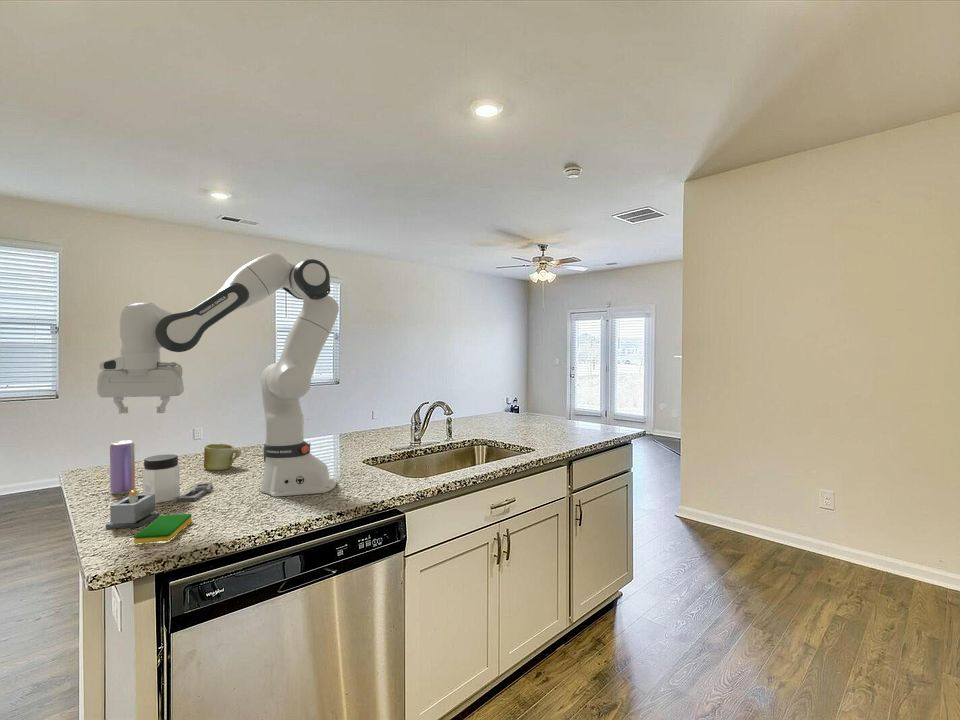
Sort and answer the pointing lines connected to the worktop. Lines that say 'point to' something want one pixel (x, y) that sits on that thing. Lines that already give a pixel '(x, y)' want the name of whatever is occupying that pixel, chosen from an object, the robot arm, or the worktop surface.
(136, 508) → the link
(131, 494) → the keeper
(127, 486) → the beverage can
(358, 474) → the worktop surface
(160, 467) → the jar
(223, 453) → the mug
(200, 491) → the chain tail
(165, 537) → the dish sponge
